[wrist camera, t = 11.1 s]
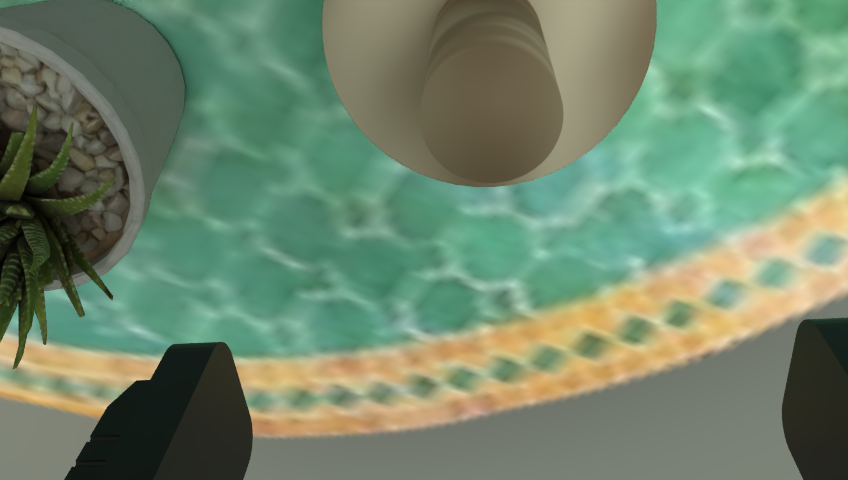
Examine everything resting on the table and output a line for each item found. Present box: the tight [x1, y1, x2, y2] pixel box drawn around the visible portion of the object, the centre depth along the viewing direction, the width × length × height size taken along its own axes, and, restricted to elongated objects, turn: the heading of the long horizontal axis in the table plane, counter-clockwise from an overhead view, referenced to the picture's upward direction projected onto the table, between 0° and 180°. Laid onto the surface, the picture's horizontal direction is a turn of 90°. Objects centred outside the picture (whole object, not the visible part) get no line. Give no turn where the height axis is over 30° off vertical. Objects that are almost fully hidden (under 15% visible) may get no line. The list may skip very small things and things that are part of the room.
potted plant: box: [0, 0, 185, 369], centre depth 33 cm, size 13×14×20 cm
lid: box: [322, 0, 656, 187], centre depth 22 cm, size 11×11×8 cm
